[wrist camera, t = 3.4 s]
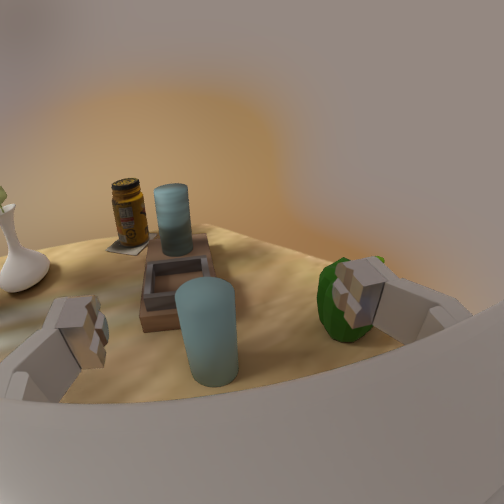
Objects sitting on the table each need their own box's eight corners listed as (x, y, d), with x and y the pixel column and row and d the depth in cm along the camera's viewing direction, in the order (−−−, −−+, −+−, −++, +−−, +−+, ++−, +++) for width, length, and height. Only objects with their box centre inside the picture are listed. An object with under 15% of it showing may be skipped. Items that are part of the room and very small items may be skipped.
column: (226, 393, 26) (217, 320, 21) (182, 376, 28) (163, 303, 23) (245, 358, 30) (244, 284, 25) (204, 345, 32) (194, 272, 27)
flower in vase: (17, 266, 45) (-14, 146, 33) (60, 260, 48) (31, 130, 35) (-10, 306, 34) (-57, 166, 22) (36, 303, 36) (-11, 145, 24)
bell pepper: (304, 343, 32) (315, 270, 27) (318, 301, 39) (328, 233, 34) (374, 358, 30) (401, 287, 25) (378, 313, 36) (397, 247, 31)
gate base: (224, 322, 35) (218, 228, 29) (144, 332, 33) (119, 240, 27) (207, 245, 52) (202, 177, 46) (151, 252, 50) (140, 184, 44)
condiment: (158, 234, 57) (150, 175, 51) (136, 256, 49) (124, 190, 43) (128, 231, 58) (119, 176, 52) (105, 251, 51) (92, 191, 45)
